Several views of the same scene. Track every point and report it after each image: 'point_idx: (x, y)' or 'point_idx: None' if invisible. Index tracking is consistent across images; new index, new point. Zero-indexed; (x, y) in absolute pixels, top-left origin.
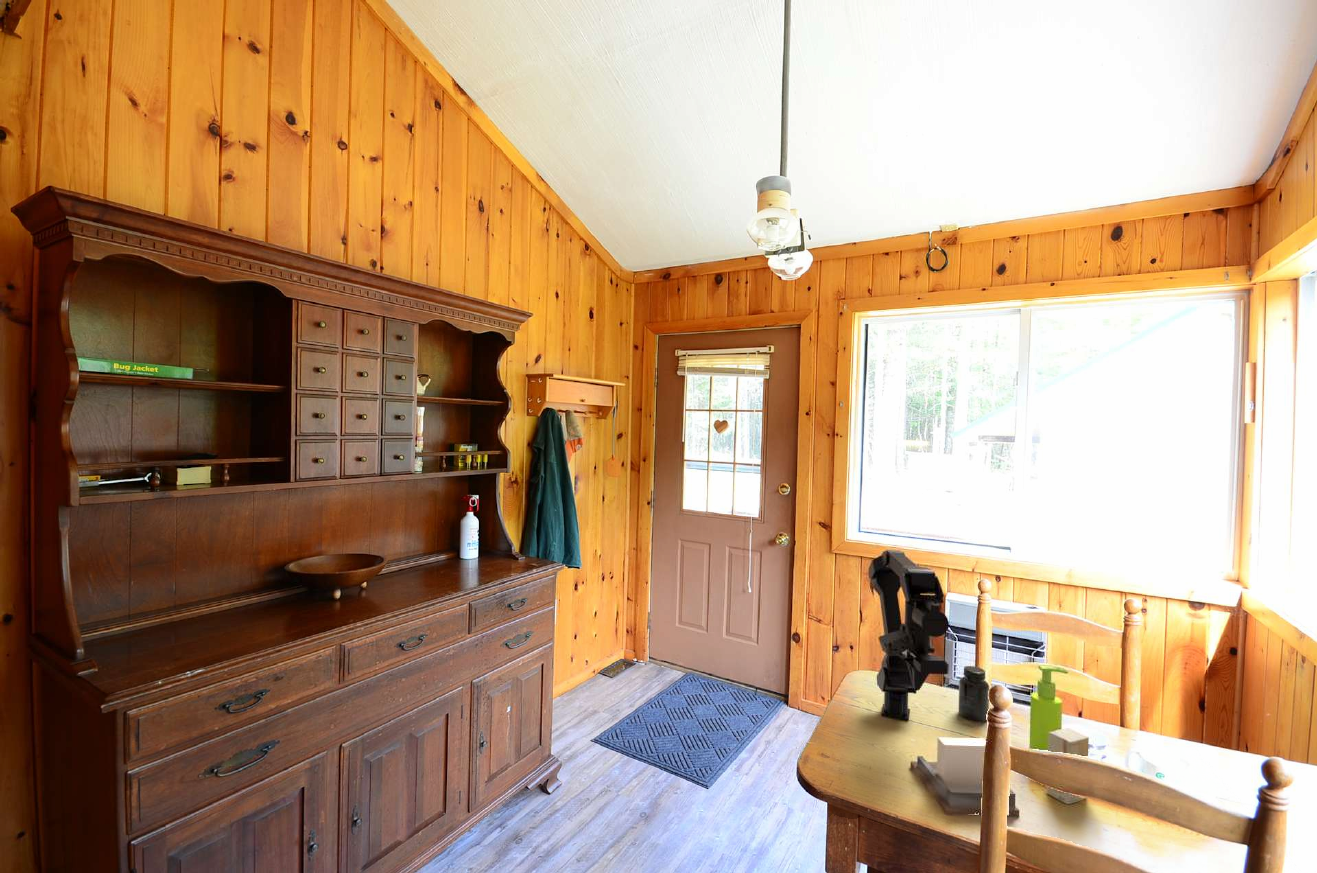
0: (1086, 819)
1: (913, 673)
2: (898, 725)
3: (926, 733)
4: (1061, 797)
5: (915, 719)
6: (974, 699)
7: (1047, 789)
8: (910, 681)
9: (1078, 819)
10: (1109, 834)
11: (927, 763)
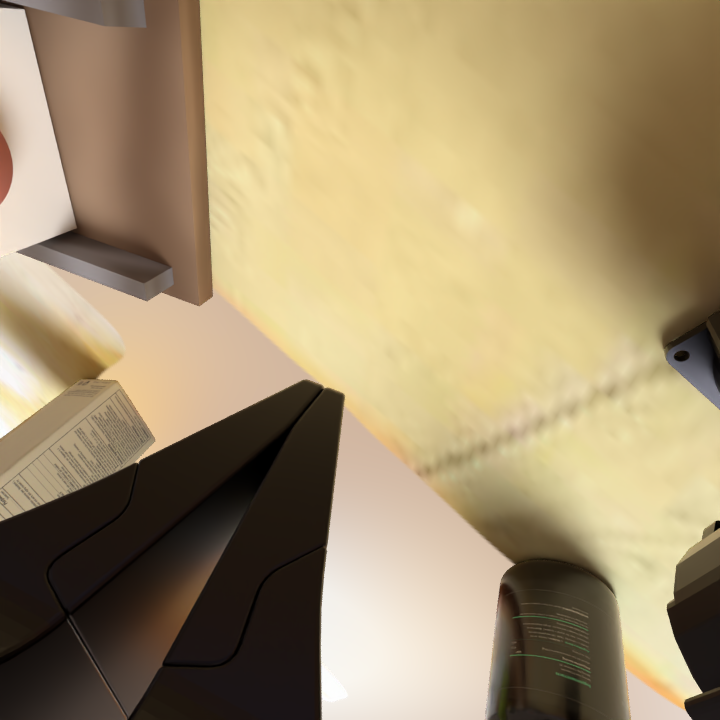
0: (41, 366)
1: (75, 517)
2: (654, 255)
3: (502, 337)
4: (82, 385)
5: (662, 399)
6: (510, 654)
7: (106, 386)
8: (709, 575)
9: (35, 350)
10: (5, 359)
11: (36, 3)
